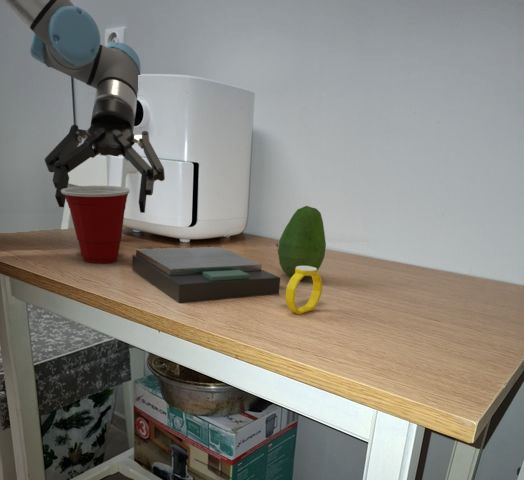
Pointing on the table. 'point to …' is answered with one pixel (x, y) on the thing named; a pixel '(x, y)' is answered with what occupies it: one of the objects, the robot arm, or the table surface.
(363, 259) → the table surface
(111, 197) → the plastic cup
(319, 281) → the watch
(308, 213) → the avocado
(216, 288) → the scale
